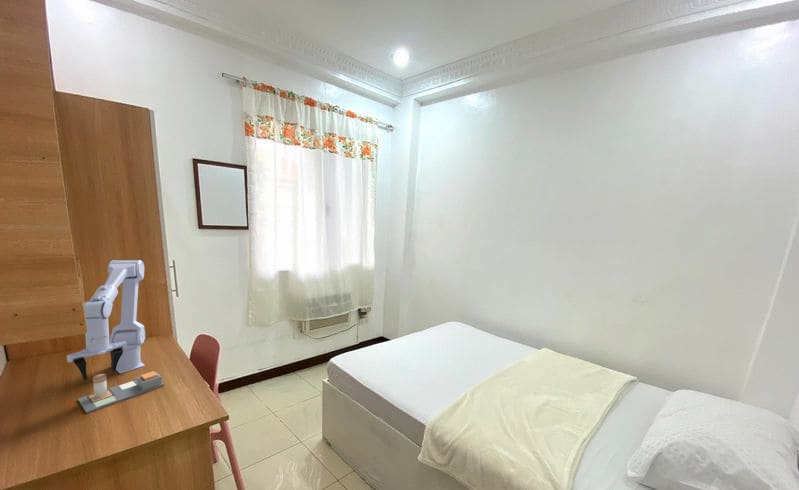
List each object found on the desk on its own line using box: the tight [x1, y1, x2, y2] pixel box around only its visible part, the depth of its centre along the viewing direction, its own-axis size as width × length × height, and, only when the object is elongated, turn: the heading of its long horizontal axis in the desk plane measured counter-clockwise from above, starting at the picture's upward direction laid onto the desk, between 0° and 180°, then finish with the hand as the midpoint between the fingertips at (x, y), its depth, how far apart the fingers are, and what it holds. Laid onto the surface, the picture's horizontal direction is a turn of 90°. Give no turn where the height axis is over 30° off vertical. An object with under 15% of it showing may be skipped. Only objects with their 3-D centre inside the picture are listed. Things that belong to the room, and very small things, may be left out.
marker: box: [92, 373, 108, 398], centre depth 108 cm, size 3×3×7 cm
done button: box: [140, 370, 157, 381], centre depth 116 cm, size 4×4×2 cm
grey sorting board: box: [77, 371, 165, 414], centre depth 112 cm, size 11×21×4 cm, turn 145°
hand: (99, 374), depth 107 cm, fingers open, 7 cm apart
